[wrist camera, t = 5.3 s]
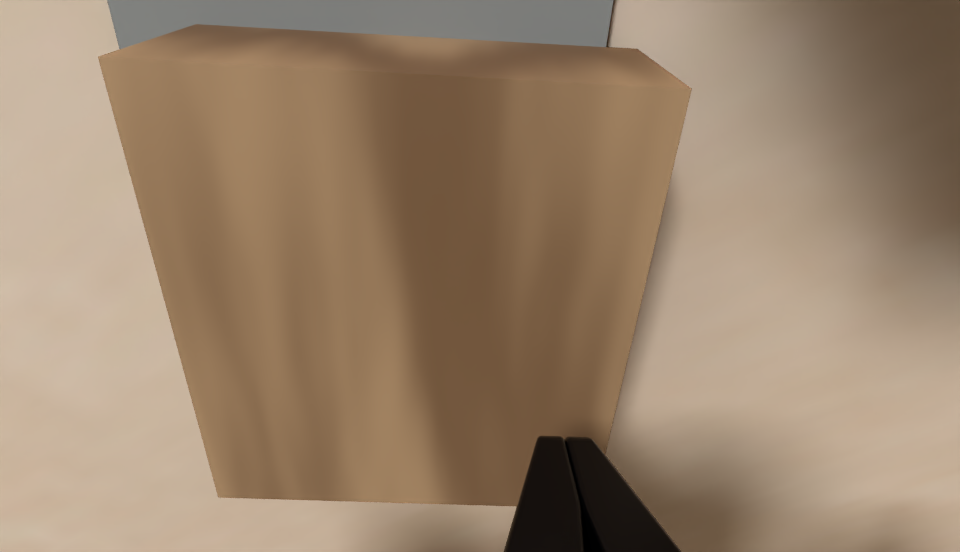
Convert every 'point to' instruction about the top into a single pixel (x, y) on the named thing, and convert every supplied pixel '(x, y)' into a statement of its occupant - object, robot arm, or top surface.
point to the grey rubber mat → (377, 18)
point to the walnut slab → (395, 248)
